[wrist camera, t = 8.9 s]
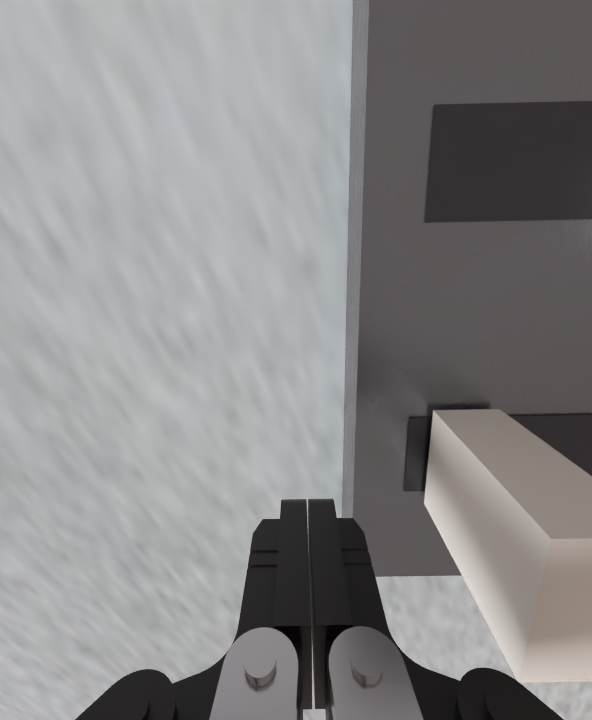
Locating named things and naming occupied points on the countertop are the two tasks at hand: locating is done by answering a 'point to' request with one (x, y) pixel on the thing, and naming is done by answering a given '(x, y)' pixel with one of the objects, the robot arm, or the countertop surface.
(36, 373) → the countertop surface
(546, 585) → the handle
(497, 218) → the breaker panel
